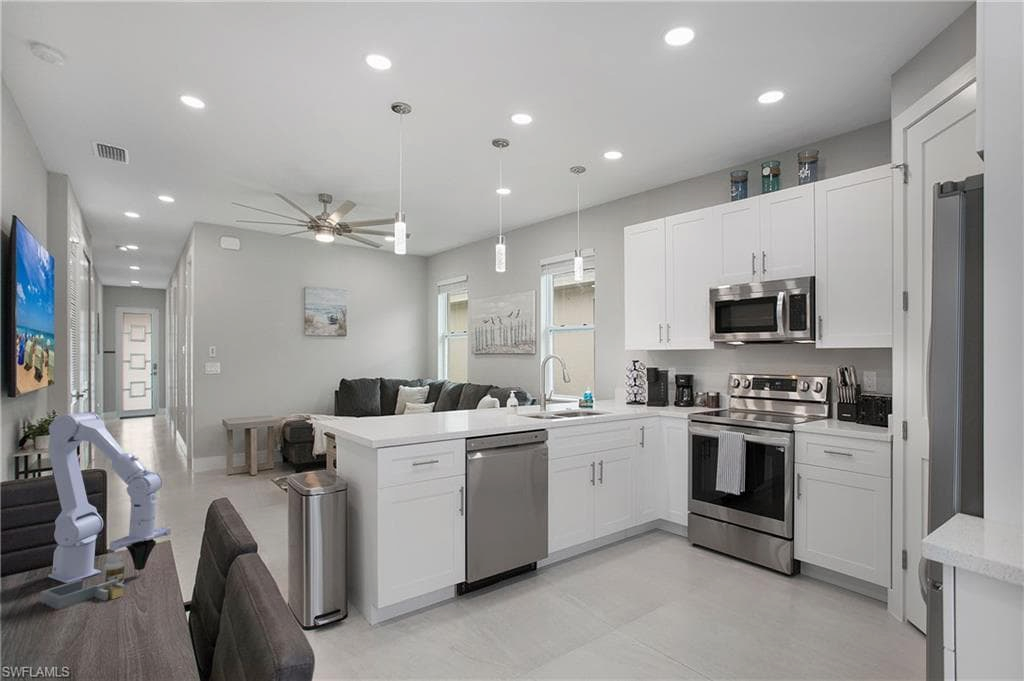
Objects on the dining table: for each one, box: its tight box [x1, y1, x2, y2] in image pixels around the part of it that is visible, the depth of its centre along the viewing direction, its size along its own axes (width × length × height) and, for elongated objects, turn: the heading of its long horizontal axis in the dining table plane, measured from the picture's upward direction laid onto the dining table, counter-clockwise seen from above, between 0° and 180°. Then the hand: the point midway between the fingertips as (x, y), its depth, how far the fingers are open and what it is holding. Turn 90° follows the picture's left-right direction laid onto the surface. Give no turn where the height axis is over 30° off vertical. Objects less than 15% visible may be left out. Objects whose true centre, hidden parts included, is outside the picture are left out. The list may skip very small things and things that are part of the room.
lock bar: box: [102, 585, 124, 600], centre depth 127 cm, size 6×2×2 cm, turn 66°
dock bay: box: [39, 578, 126, 610], centre depth 125 cm, size 12×12×3 cm
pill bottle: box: [102, 551, 126, 586], centre depth 133 cm, size 4×4×8 cm
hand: (139, 568), depth 139 cm, fingers closed
